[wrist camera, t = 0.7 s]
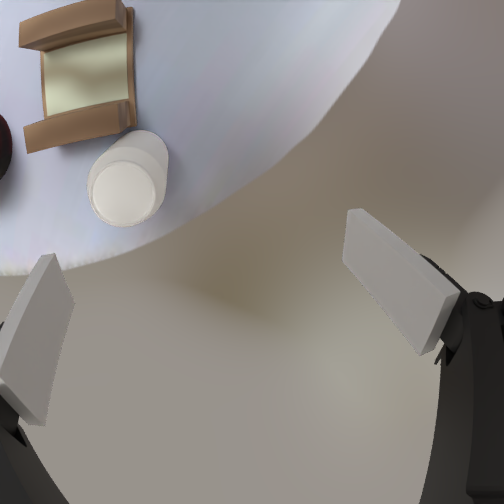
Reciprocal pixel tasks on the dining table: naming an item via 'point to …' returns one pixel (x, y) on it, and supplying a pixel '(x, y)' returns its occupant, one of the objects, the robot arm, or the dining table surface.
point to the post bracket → (82, 72)
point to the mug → (5, 146)
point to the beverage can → (129, 179)
